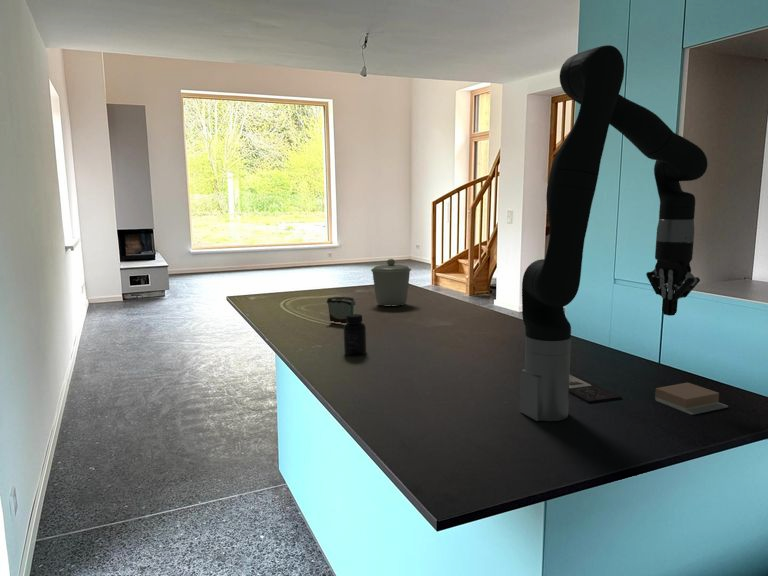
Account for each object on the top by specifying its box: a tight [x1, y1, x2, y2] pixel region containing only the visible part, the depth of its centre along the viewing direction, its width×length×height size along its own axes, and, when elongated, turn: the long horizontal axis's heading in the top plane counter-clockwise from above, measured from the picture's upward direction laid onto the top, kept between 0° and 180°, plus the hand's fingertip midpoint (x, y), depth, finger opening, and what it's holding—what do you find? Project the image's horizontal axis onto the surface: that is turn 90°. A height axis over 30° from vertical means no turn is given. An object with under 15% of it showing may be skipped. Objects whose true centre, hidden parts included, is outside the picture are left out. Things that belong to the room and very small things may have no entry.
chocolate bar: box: [569, 373, 623, 404], centre depth 135 cm, size 9×1×18 cm
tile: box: [654, 382, 720, 410], centre depth 124 cm, size 10×2×8 cm
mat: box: [655, 399, 729, 416], centre depth 123 cm, size 11×9×1 cm
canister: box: [370, 258, 412, 306], centre depth 249 cm, size 18×18×21 cm
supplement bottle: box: [343, 313, 367, 357], centre depth 169 cm, size 7×7×12 cm
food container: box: [326, 296, 356, 323], centre depth 213 cm, size 12×6×10 cm, turn 58°
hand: (669, 314), depth 127 cm, fingers closed
